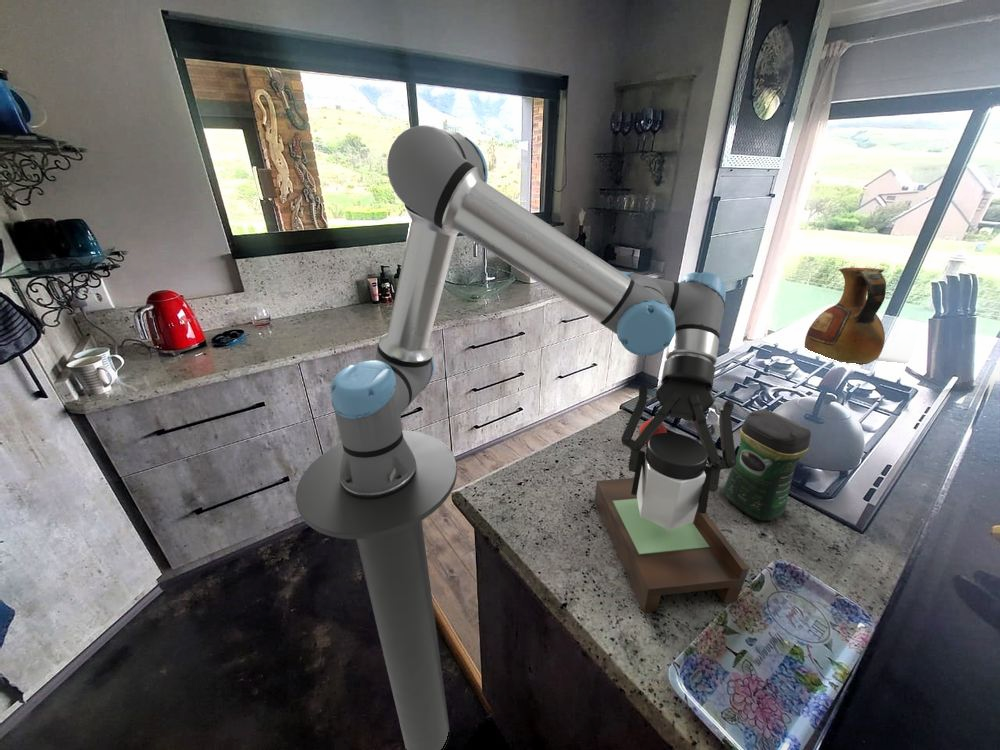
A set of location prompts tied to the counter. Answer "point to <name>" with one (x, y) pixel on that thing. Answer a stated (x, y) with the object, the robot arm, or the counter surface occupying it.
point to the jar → (671, 480)
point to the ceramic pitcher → (852, 320)
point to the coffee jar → (765, 464)
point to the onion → (659, 430)
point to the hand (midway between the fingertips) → (666, 503)
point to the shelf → (667, 550)
